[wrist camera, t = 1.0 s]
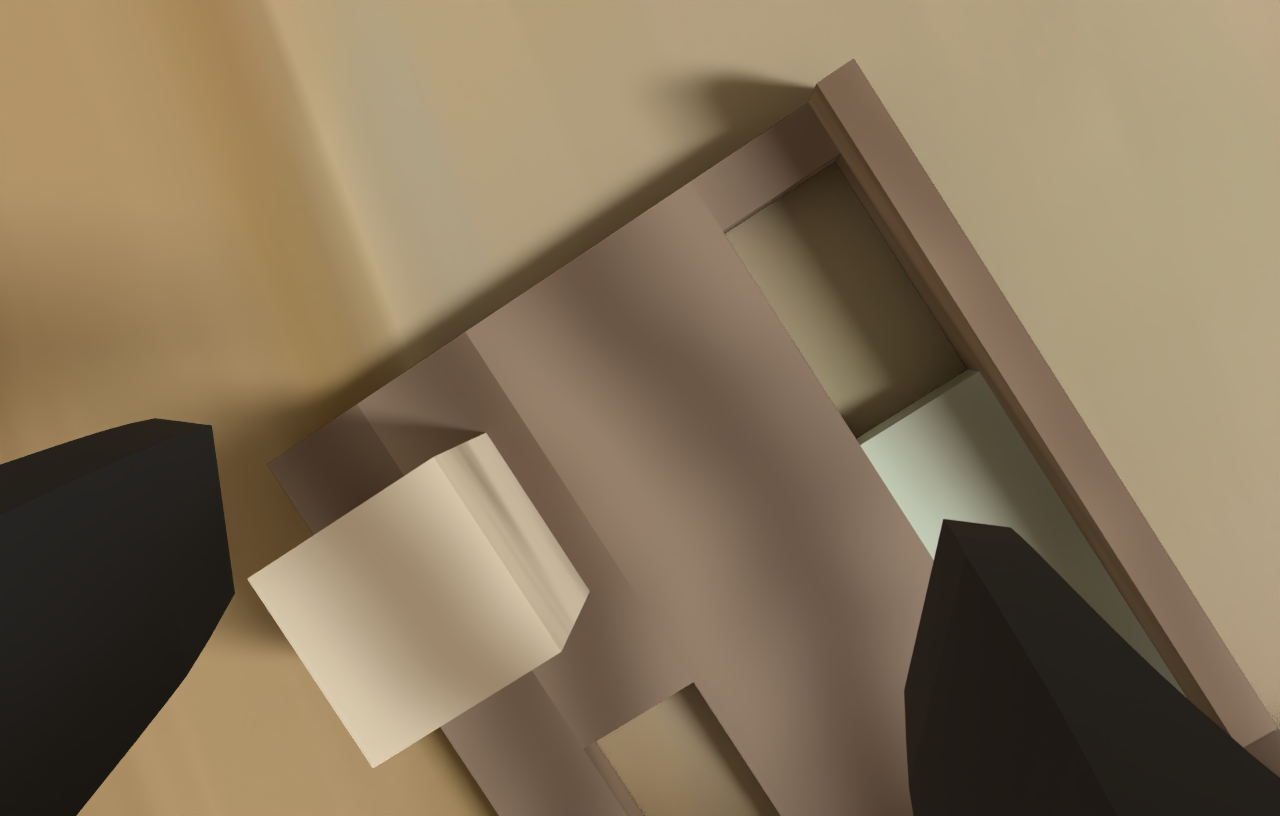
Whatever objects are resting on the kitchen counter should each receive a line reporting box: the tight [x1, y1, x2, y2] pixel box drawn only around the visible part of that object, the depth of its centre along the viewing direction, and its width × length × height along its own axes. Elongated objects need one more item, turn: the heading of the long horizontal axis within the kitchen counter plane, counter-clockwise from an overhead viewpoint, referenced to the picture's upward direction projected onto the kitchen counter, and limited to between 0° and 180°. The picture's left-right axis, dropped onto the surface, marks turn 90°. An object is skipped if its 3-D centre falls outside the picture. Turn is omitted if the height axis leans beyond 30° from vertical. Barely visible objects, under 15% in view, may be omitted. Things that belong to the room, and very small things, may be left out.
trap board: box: [267, 59, 1280, 816], centre depth 26 cm, size 18×20×3 cm
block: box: [248, 433, 590, 768], centre depth 24 cm, size 5×5×5 cm
